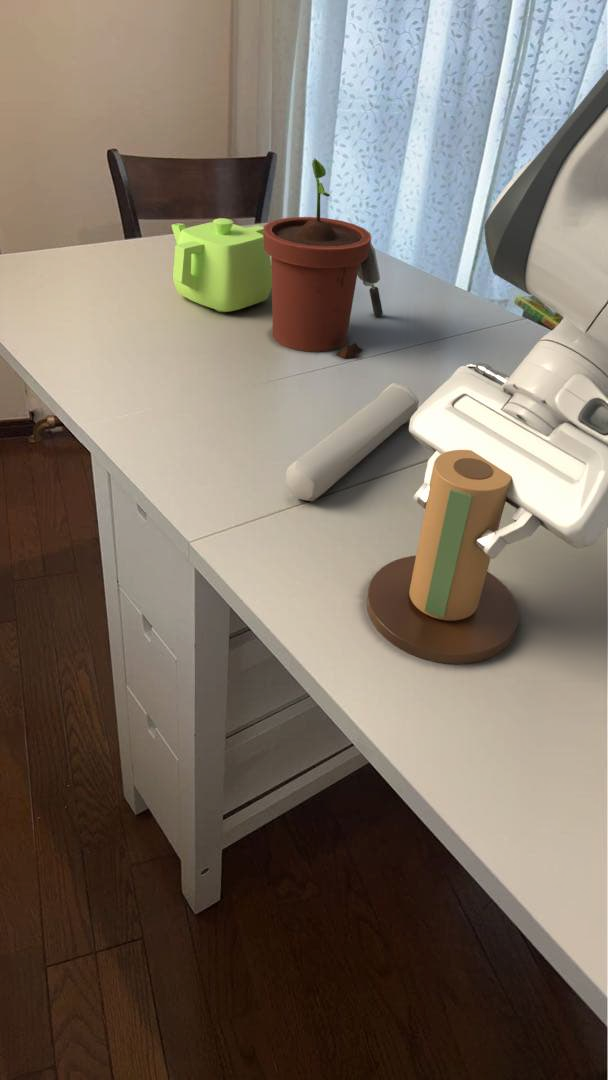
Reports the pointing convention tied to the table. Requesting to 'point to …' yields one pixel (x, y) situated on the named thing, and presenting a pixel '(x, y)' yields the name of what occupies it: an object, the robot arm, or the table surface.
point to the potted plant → (318, 278)
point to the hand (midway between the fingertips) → (451, 528)
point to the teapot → (221, 265)
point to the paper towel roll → (457, 534)
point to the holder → (436, 636)
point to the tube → (350, 443)
